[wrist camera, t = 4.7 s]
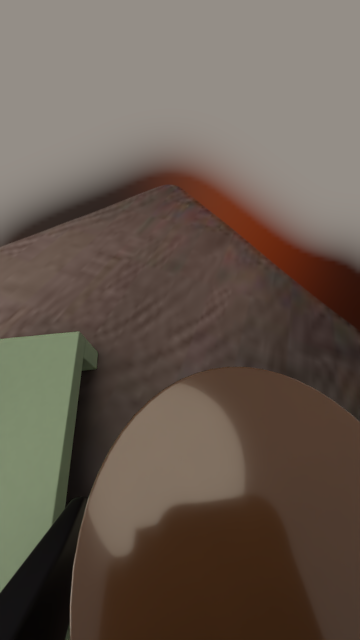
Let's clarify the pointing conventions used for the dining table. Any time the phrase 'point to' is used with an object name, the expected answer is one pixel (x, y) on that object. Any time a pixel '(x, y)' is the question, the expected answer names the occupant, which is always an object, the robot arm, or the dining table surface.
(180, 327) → the dining table surface
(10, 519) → the shelf
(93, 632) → the canister
